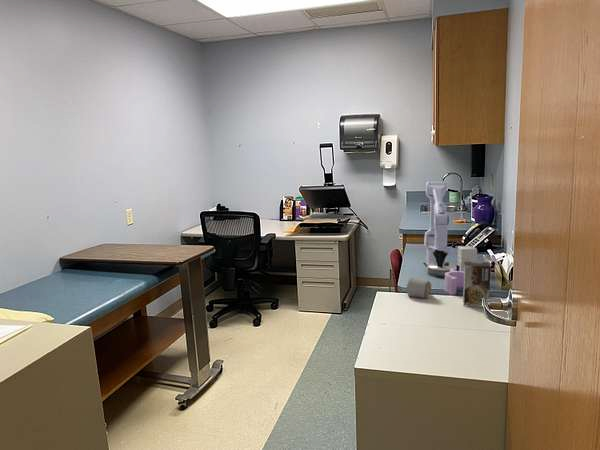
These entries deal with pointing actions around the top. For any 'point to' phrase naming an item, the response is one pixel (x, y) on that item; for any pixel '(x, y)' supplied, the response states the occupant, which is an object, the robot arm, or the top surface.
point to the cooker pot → (439, 272)
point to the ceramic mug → (418, 288)
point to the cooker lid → (445, 266)
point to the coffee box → (476, 282)
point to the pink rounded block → (454, 280)
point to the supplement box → (466, 255)
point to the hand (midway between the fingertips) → (440, 266)
